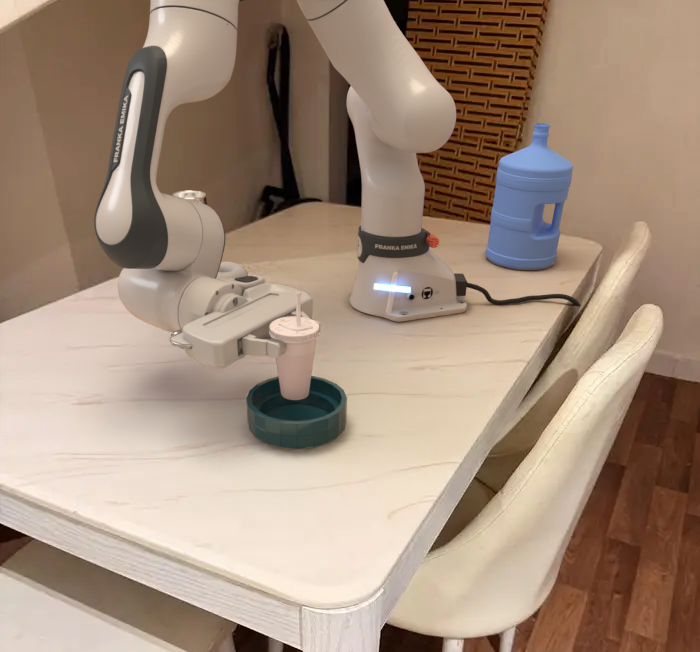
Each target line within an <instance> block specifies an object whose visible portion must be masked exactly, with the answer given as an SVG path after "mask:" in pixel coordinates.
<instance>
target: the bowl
mask: <svg viewBox="0 0 700 652" xmlns="http://www.w3.org/2000/svg"><path fill="white" fill-rule="evenodd" d="M245 404H246V420H247V427H248V431H249V432H250V433H251V434H252V436H254V438H255V439H257V440H258V441H260V442H262V443H264V444H266V445H268V446H272V447H276V448H280V449H291V450H301V449H302V450H304V449H313V448H316V447H320V446H324V445H327V444H329V443H331V442H333V441H335V440H337V439H338V438H339V437H340V436H341V435H342V434H343V433H344V432H345V430H346V426H347V413H348V412H347V411H348V396H347V394H346V392H345V389H343V388H342V387H341V386H340V385H339V384H337V383H336V382H334V381H332V380H329V379H327V378H324V377H319V376H315V375H311V381H310V389H309V395H308V396H307V397H306V398H304V399H301V400H289V399H286V398H284V397H283V396H282V395H281V389H280V383H279V377H278V376H274V377H270V378H267V379H264V380H262V381H260V382H258V383H257V384H255V385H254V386H253V387H251V389H249V391H248V393H247V395H246V397H245Z"/></svg>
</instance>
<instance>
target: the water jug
mask: <svg viewBox="0 0 700 652" xmlns="http://www.w3.org/2000/svg"><path fill="white" fill-rule="evenodd" d="M533 126H534V131H533V133H532V140H531V144H530V145H529V146H526V147H524V148H522V149H518V150H516V151H514V152H512V153H509V154H507V155H504V156H502V157H501V158H500V159H499V161H498V166H497V169H496V176H495V181H496V182H495V189H494V196H493V203H492V207H491V211H490V224H489V230H488V231H489V232H488V238H487V244H486V247H485V256H486V259H487V260H488V261H490V262H491V263H493V264H494V265H497V266H499V267H502V268H505V269H511V270H517V271H518V270H519V271H539V270H545V269H548V268H550V267H551V266H553V265H554V264H555V262H556V260H557V256H558V246H559V241H560V237H561V229H560V227H561V220H562V217H563V211H564V206H565V202H566V200H568V197H569V190H570V187H571V184H572V179H573V171H574V165H573V163H572V162H571V161H570V160H568V159H566V158H565V157H564V156H562V155H560V153H557V152H556V151H554V150H553V149H551V148H549V146H548V141H549V140H548V139H549V137H550V136H549V135H550V133H549V132H550V131H549V130H550V128H551V124H549V123H543V122H542V123H541V122H540V123H539V122H538V123H537V122H536V123H534V125H533ZM546 205H554V209H553V213H552V219H551V223H548V222H546V221H545V220H544V218H543V217H544V212H545V206H546Z"/></svg>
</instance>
